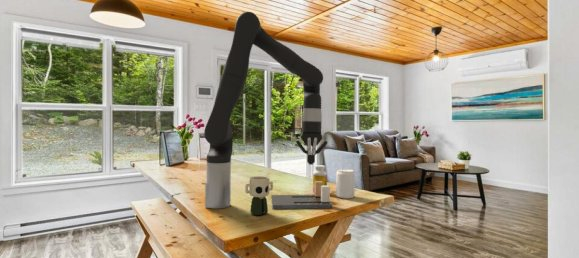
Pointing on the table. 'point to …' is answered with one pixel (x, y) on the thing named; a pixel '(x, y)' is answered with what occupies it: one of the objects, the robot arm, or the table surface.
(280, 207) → the board
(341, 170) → the beverage can
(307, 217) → the table surface
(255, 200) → the character mug
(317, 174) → the supplement bottle
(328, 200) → the block
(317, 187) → the terracotta fader
